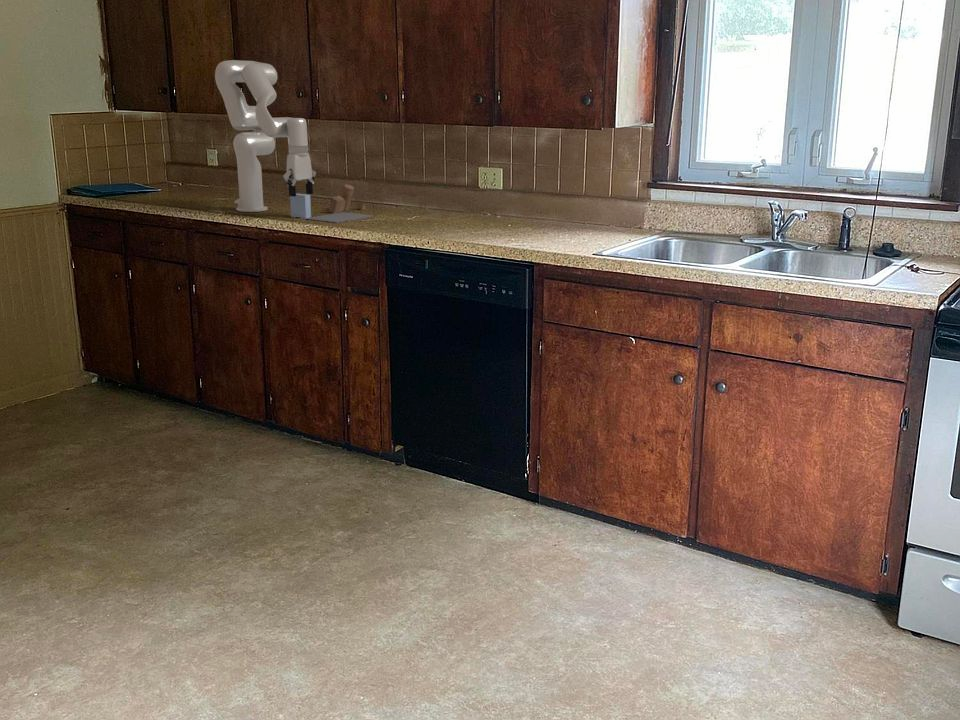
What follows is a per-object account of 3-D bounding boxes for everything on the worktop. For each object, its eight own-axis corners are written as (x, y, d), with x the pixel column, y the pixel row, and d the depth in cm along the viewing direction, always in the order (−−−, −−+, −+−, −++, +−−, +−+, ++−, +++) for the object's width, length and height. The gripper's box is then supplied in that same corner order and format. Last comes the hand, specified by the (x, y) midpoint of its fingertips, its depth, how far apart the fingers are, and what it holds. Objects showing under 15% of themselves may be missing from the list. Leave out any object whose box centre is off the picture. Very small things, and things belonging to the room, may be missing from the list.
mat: (305, 219, 371) (305, 218, 370) (342, 213, 388) (342, 212, 388) (336, 223, 362) (336, 221, 362) (372, 216, 380) (372, 215, 380)
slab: (290, 216, 378) (289, 194, 375) (296, 216, 380) (295, 193, 378) (305, 218, 374) (304, 195, 371) (311, 217, 376) (310, 194, 374)
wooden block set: (335, 219, 389) (341, 197, 383) (321, 209, 392) (326, 187, 387) (365, 213, 402) (371, 191, 397) (351, 203, 406) (357, 182, 400)
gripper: (306, 149, 378) (309, 192, 383) (275, 151, 364) (278, 196, 369) (320, 149, 374) (323, 193, 379) (290, 152, 360) (293, 197, 365)
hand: (301, 195), depth 374 cm, fingers open, 9 cm apart
